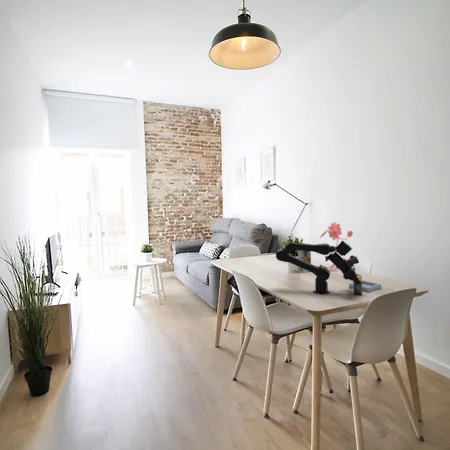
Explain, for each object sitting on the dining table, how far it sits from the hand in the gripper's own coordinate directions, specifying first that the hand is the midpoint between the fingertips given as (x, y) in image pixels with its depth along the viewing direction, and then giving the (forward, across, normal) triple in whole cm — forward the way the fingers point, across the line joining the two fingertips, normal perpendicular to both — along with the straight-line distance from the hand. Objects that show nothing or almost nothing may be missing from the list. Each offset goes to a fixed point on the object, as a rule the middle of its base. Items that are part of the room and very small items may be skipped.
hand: (360, 282), depth 180 cm
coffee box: (-21, +52, +31) cm, 64 cm away
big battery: (+4, 0, +6) cm, 7 cm away
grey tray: (+7, +13, +3) cm, 15 cm away
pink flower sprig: (-6, +63, +16) cm, 65 cm away
